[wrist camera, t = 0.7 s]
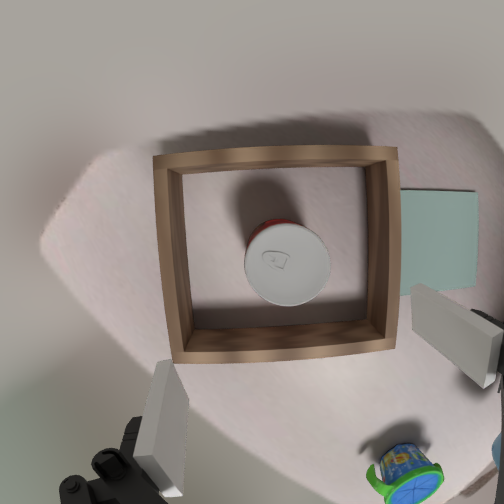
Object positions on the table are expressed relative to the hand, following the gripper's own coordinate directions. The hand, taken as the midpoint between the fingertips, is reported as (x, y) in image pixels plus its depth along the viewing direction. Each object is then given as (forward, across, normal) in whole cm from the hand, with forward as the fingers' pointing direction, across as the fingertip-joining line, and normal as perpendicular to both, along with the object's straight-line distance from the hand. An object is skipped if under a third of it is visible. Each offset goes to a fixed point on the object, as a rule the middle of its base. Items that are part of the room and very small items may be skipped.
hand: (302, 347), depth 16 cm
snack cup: (+19, -16, +43) cm, 50 cm away
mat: (+22, -26, +5) cm, 34 cm away
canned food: (+24, -3, +1) cm, 25 cm away
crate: (+24, -3, +1) cm, 25 cm away
